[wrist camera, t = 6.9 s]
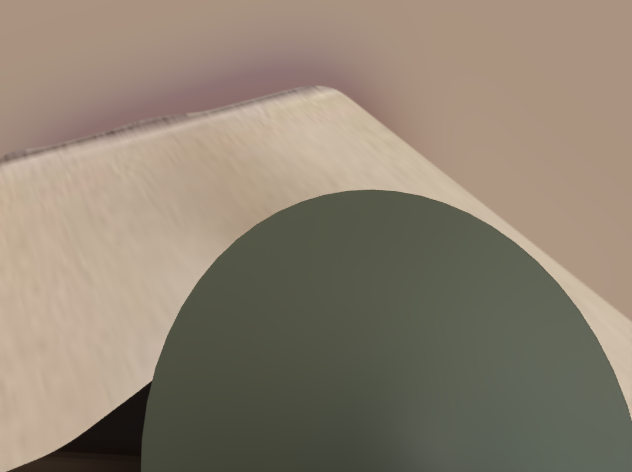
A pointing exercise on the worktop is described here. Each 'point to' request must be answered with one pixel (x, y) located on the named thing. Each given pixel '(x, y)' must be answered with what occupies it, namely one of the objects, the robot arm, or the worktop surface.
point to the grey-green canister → (382, 352)
